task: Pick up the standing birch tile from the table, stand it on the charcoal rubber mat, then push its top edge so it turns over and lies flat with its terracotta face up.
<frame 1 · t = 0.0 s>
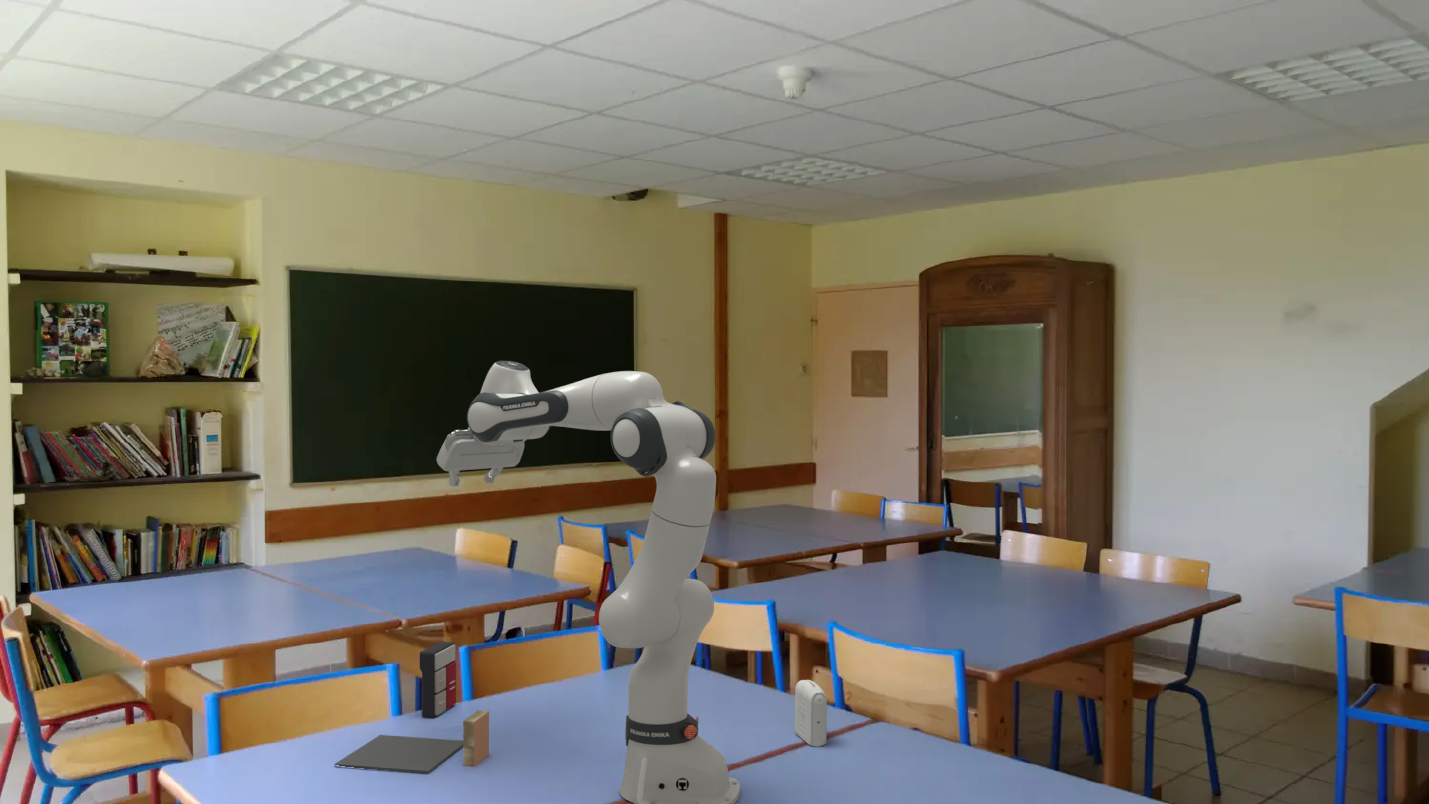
hand: (470, 483, 231), 54 cm above the table, tool tilted 30°, fingers open, 8 cm apart
tile: (476, 760, 212), on the table
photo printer: (810, 740, 225), on the table
mat: (403, 754, 215), on the table
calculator: (439, 711, 245), on the table
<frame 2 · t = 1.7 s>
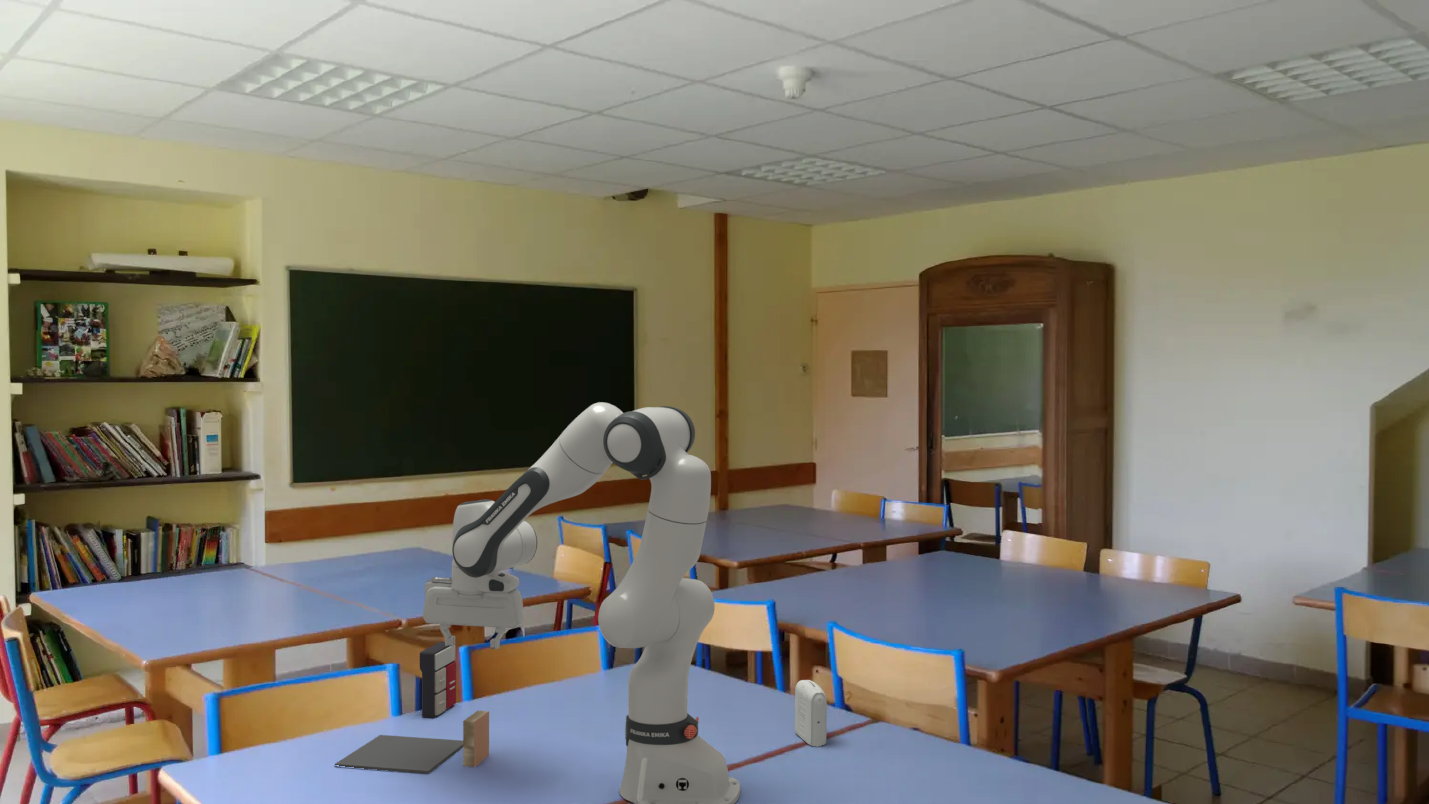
hand: (472, 646, 213), 23 cm above the table, tool pointing down, fingers open, 8 cm apart
nothing on the table moved.
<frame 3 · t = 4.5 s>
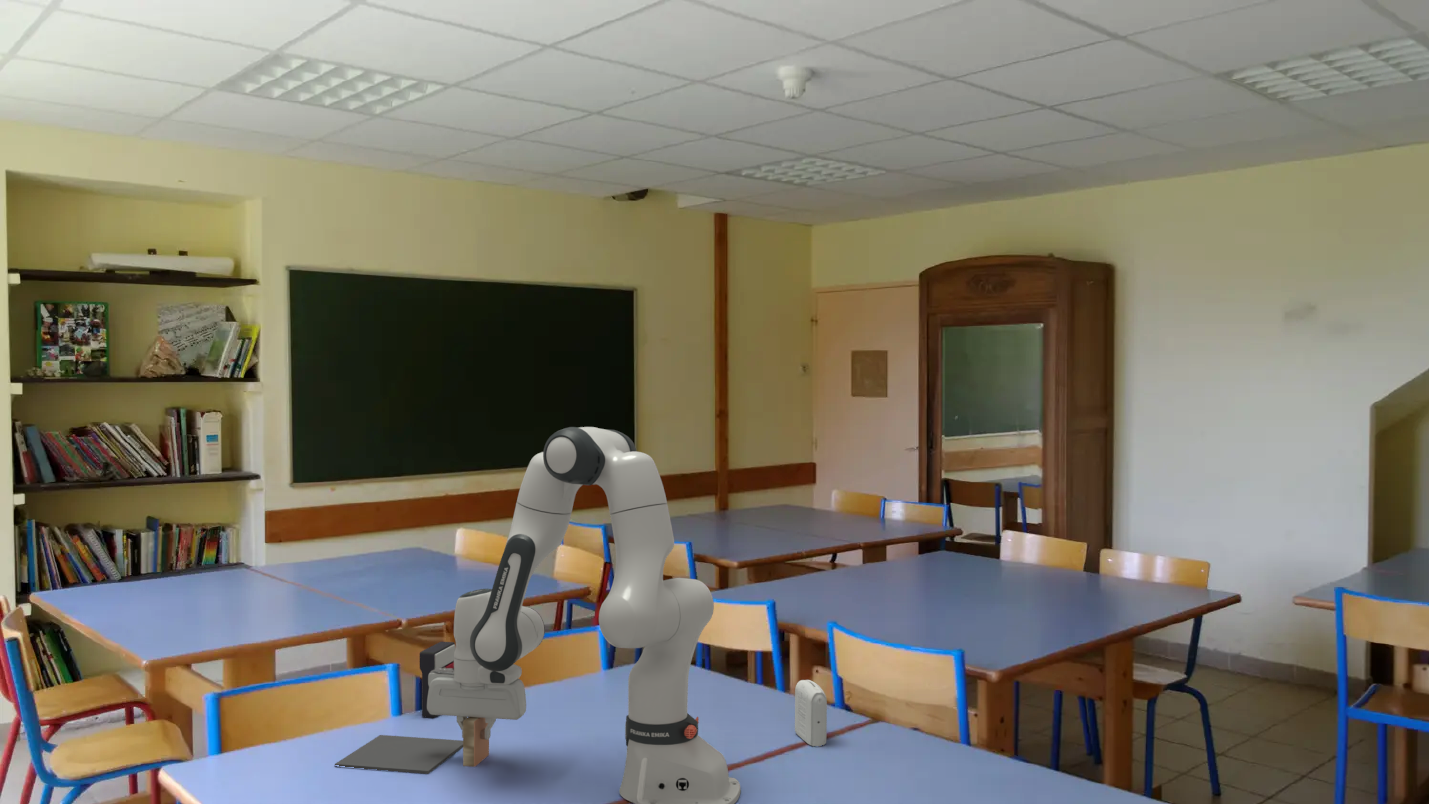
hand: (476, 738, 212), 5 cm above the table, tool pointing down, fingers closed on tile, 2 cm apart
tile: (476, 760, 212), on the table, touching gripper
everything else where it was.
when the fingers open (7 cm above the table, at t = 9.1 s): tile drops 1 cm, resting on mat.
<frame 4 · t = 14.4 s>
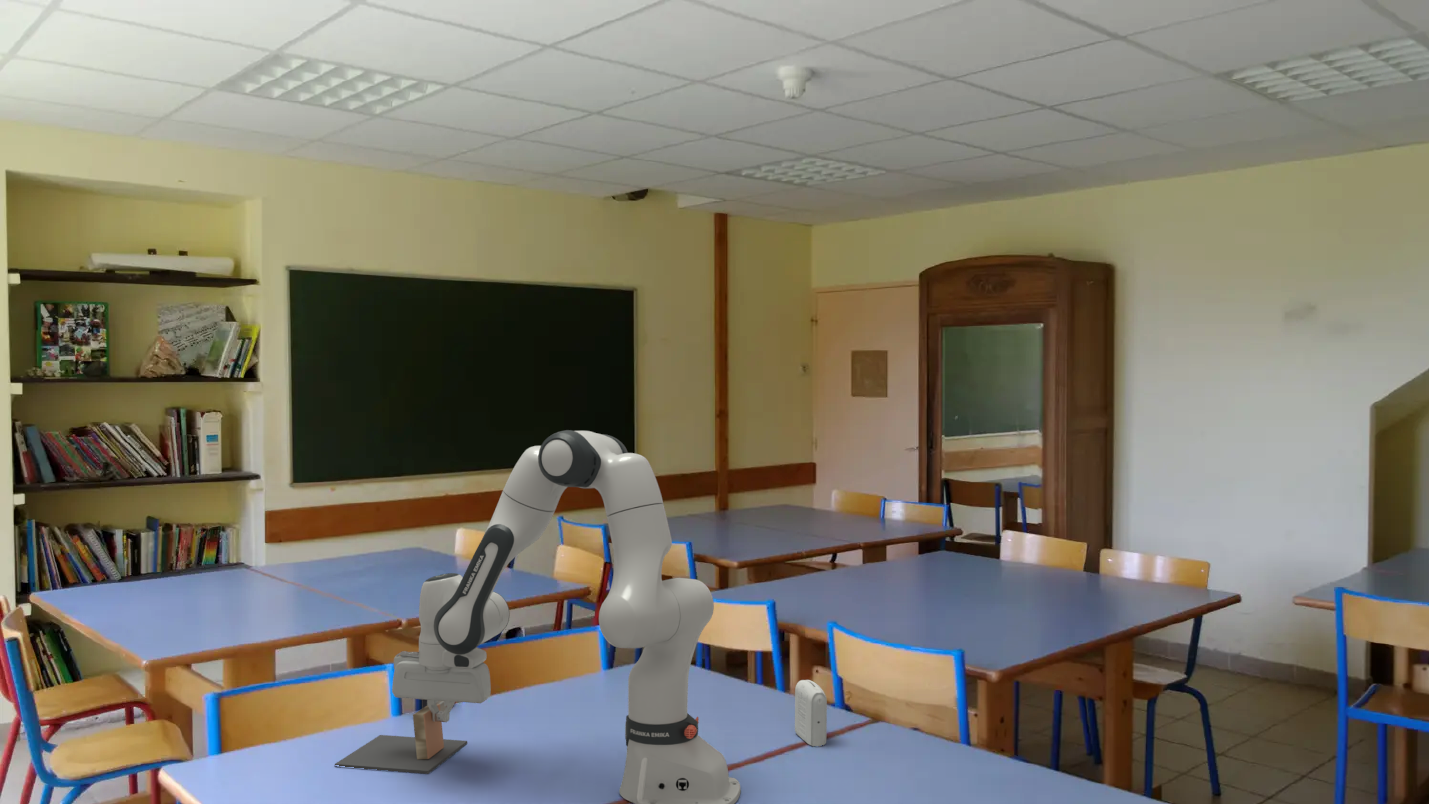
hand: (441, 721, 214), 7 cm above the table, tool pointing down, fingers closed
tile: (430, 753, 214), point 1 cm above the table, tilted 6°, touching mat
everything else where it was.
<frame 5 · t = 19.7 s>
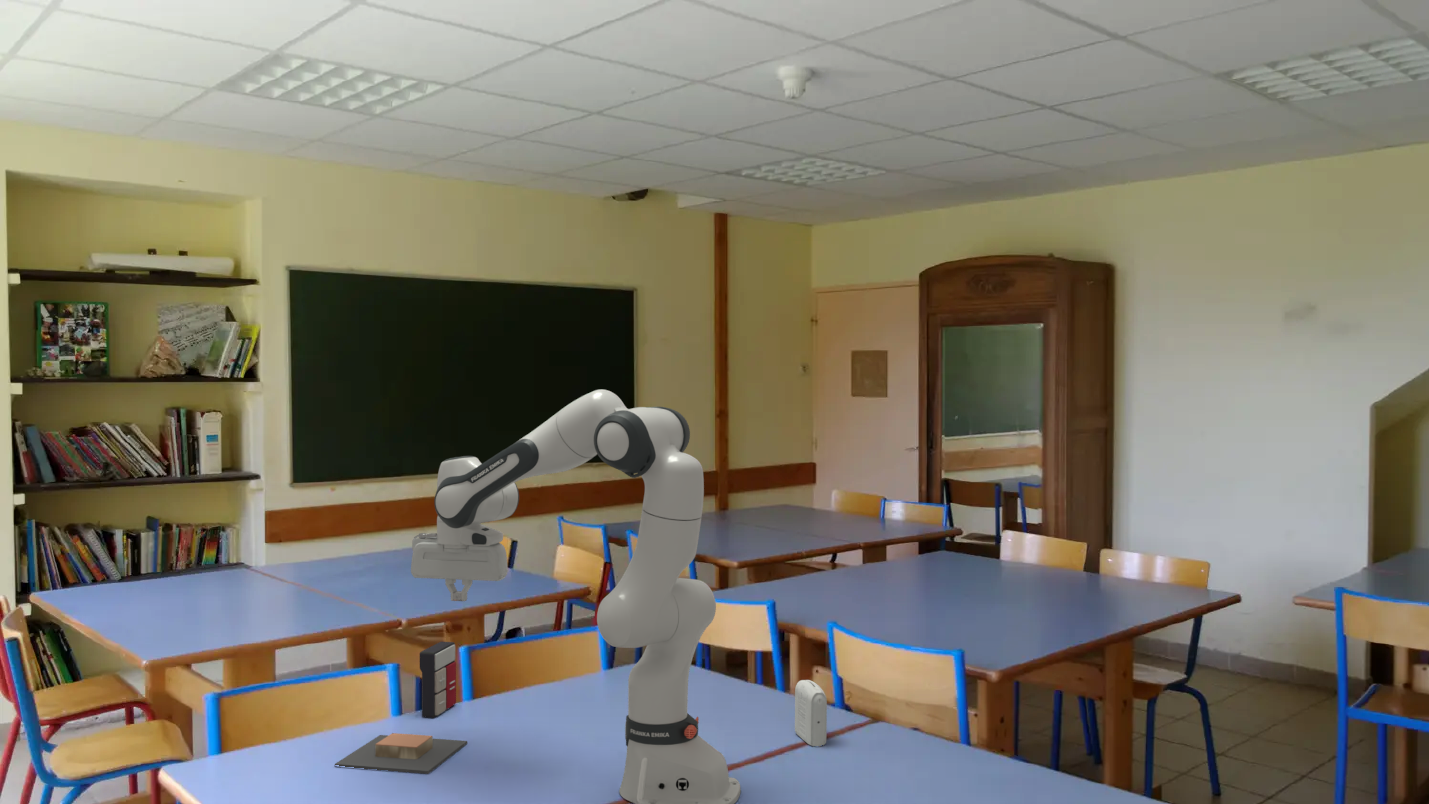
hand: (458, 600, 218), 31 cm above the table, tool pointing down, fingers closed
tile: (424, 747, 214), point 2 cm above the table, tilted 90°, touching mat
everything else where it was.
at the end: tile tilted 90°; tile inside the target area (2.3 cm from its centre), point 1.8 cm above the table; tile touching mat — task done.
